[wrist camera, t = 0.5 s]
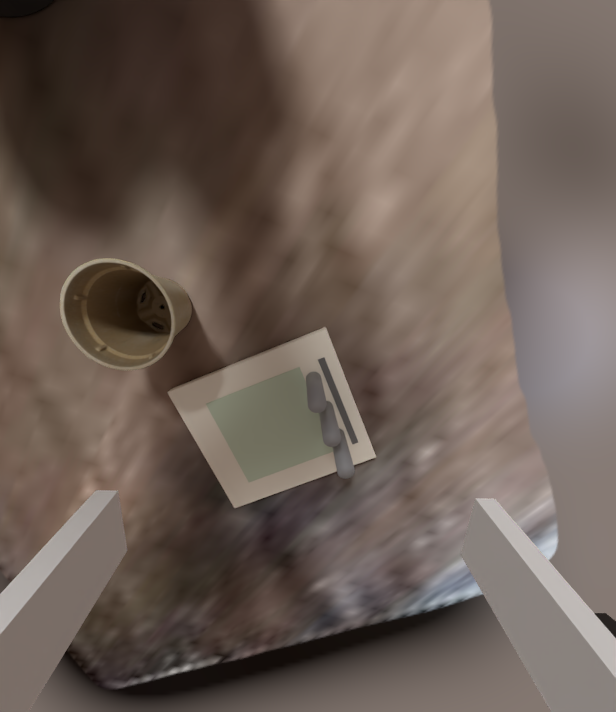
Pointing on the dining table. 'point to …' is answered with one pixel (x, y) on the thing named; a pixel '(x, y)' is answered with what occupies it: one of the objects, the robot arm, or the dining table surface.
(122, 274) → the flower pot
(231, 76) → the dining table surface
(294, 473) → the board
